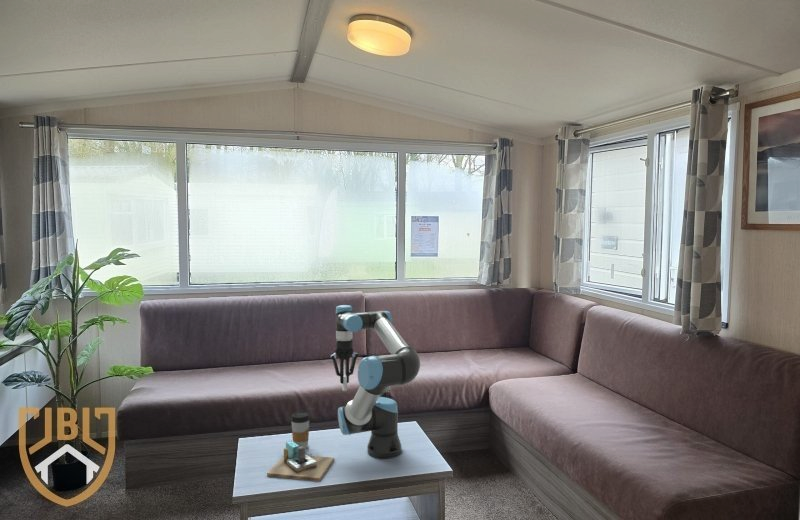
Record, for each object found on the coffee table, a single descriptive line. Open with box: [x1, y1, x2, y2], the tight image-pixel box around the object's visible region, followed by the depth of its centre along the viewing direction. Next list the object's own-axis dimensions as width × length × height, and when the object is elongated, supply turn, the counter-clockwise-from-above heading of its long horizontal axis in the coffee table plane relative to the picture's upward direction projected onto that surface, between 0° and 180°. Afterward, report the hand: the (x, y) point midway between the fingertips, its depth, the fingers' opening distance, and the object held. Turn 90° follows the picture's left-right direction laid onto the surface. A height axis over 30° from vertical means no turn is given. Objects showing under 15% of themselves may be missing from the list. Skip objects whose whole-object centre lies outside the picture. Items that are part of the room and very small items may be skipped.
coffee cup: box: [290, 411, 311, 450], centre depth 228 cm, size 8×8×15 cm
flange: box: [285, 440, 317, 472], centre depth 211 cm, size 9×16×6 cm, turn 39°
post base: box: [266, 446, 335, 482], centre depth 208 cm, size 22×18×8 cm
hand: (344, 390), depth 232 cm, fingers closed
